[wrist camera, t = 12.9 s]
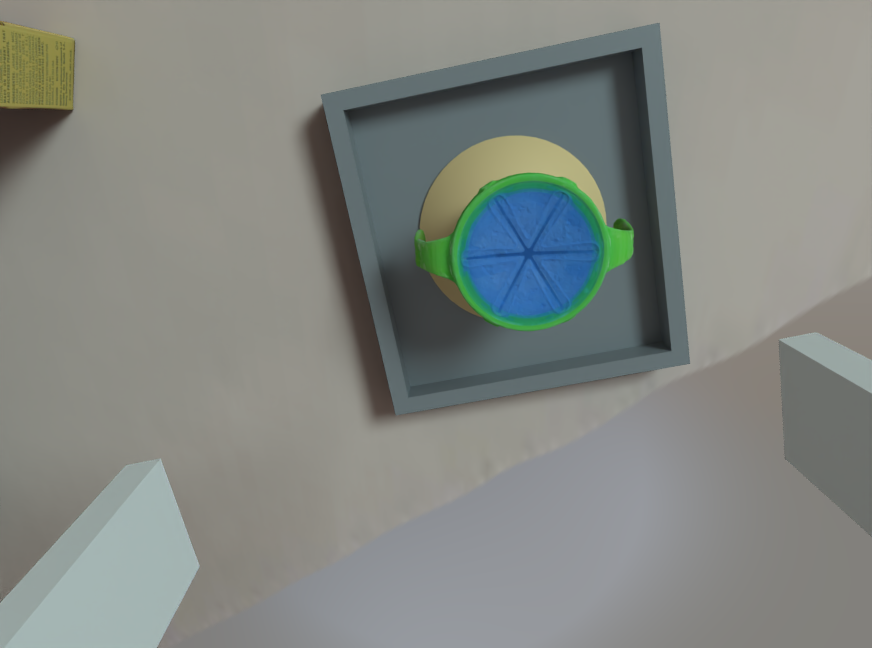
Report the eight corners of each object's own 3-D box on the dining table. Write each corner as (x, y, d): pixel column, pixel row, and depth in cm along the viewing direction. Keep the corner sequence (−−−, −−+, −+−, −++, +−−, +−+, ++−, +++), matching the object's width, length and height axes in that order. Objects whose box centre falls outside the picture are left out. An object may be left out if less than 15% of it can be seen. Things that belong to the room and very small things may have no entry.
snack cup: (619, 171, 36) (661, 180, 29) (602, 301, 39) (637, 338, 32) (420, 160, 36) (414, 166, 29) (414, 291, 39) (408, 326, 32)
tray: (398, 398, 42) (395, 415, 39) (329, 97, 37) (320, 94, 34) (675, 349, 41) (690, 363, 38) (644, 30, 35) (659, 22, 33)
